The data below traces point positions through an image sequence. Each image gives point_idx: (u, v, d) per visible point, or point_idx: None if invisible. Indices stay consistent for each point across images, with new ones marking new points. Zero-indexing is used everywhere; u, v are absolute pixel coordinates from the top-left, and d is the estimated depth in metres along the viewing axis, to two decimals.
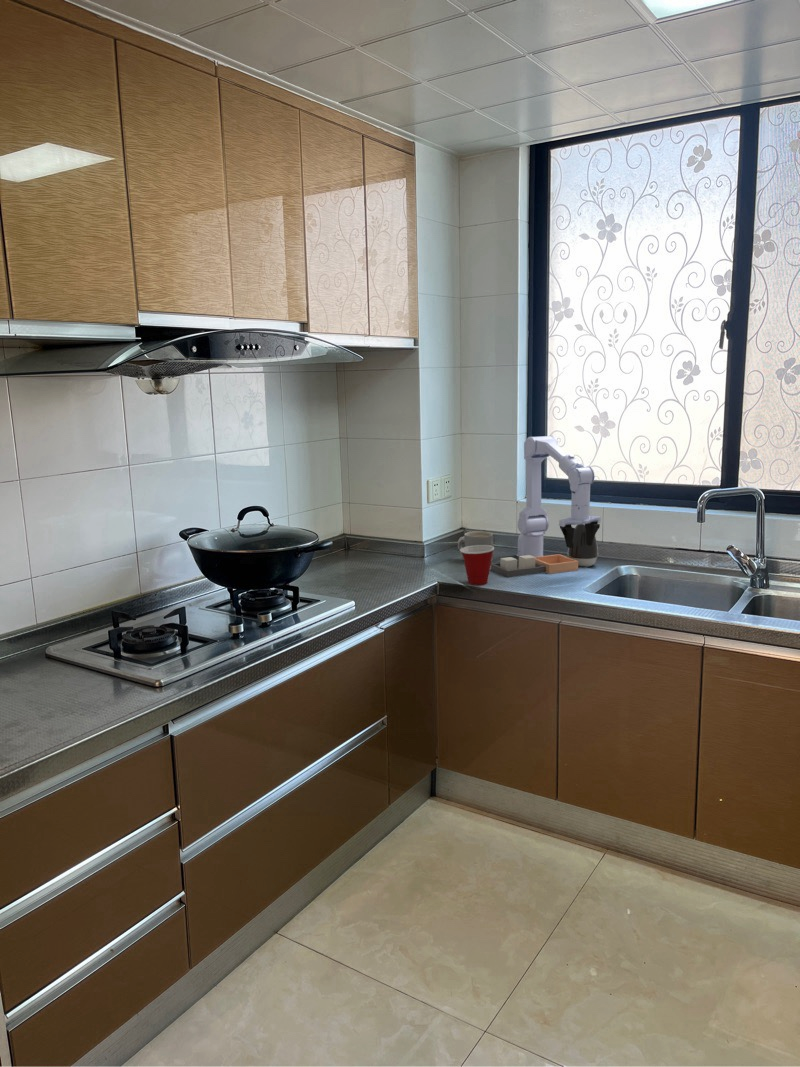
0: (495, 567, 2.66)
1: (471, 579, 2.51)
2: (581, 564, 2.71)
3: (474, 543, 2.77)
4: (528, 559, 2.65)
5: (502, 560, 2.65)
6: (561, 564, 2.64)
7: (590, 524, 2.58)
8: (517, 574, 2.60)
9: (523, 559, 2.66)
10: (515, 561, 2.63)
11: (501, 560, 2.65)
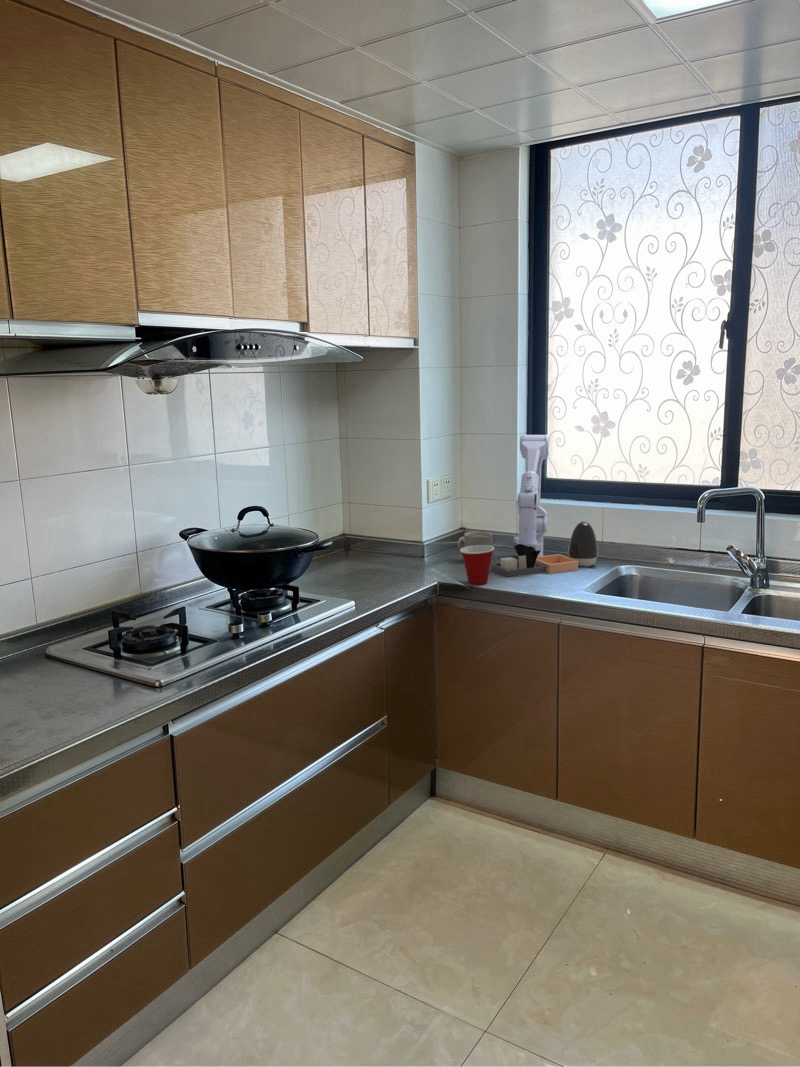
0: (495, 567, 2.66)
1: (471, 579, 2.51)
2: (581, 564, 2.71)
3: (474, 543, 2.77)
4: None
5: (502, 560, 2.65)
6: (561, 564, 2.64)
7: None
8: (517, 574, 2.60)
9: (523, 559, 2.66)
10: (515, 561, 2.63)
11: (501, 560, 2.65)
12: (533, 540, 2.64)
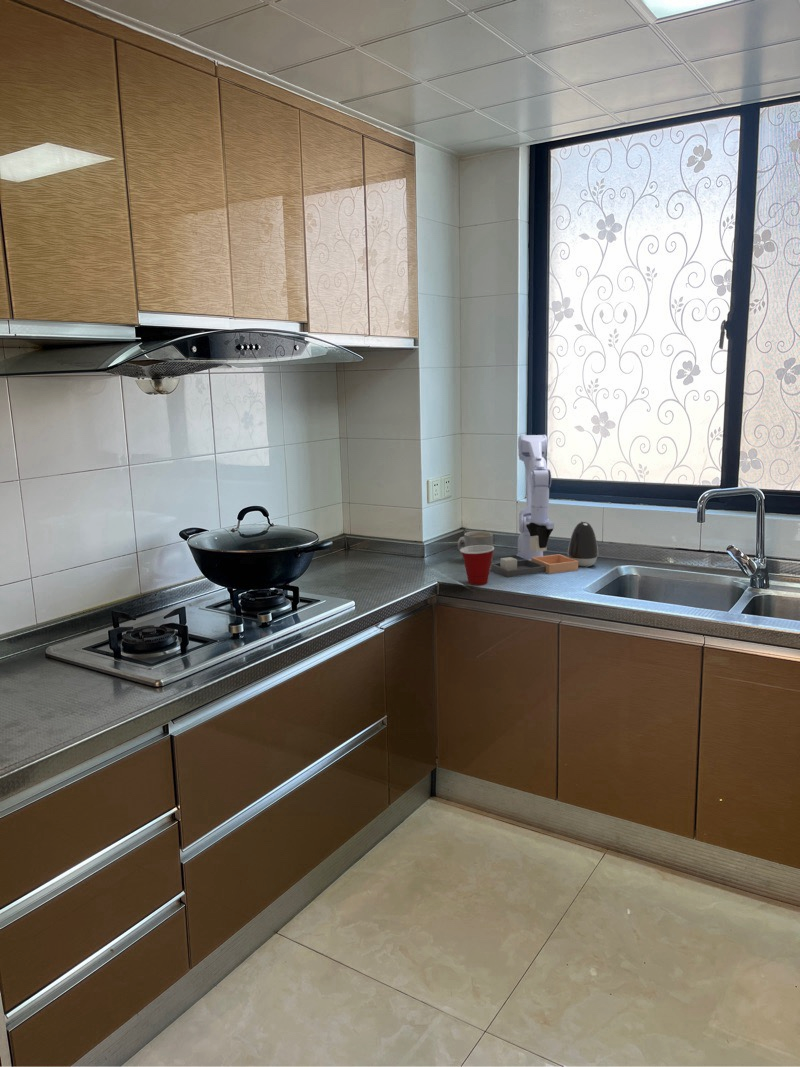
0: (495, 567, 2.66)
1: (471, 579, 2.51)
2: (581, 564, 2.71)
3: (474, 543, 2.77)
4: None
5: (502, 560, 2.65)
6: (561, 564, 2.64)
7: None
8: (517, 574, 2.60)
9: (534, 539, 2.65)
10: (515, 561, 2.63)
11: (501, 560, 2.65)
12: (545, 519, 2.63)
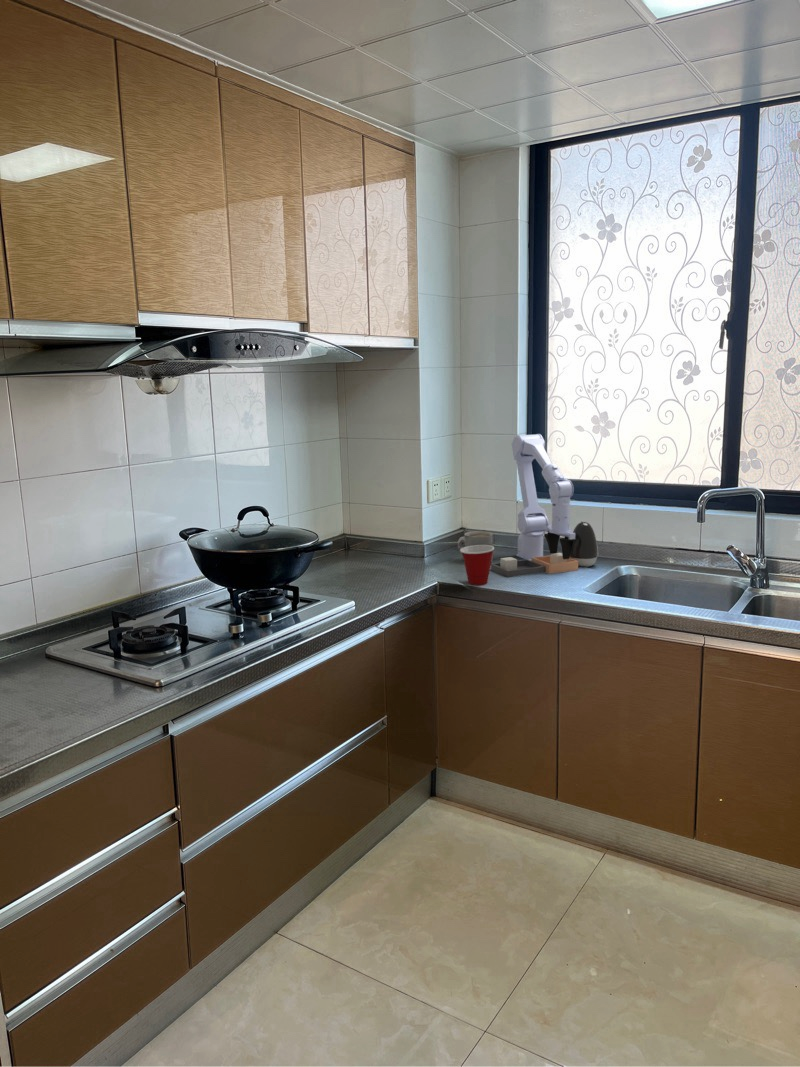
0: (495, 567, 2.66)
1: (471, 579, 2.51)
2: (581, 564, 2.71)
3: (474, 543, 2.77)
4: (560, 557, 2.67)
5: (502, 560, 2.65)
6: (561, 564, 2.64)
7: None
8: (517, 574, 2.60)
9: (555, 557, 2.68)
10: (515, 561, 2.63)
11: (501, 560, 2.65)
12: (566, 529, 2.66)
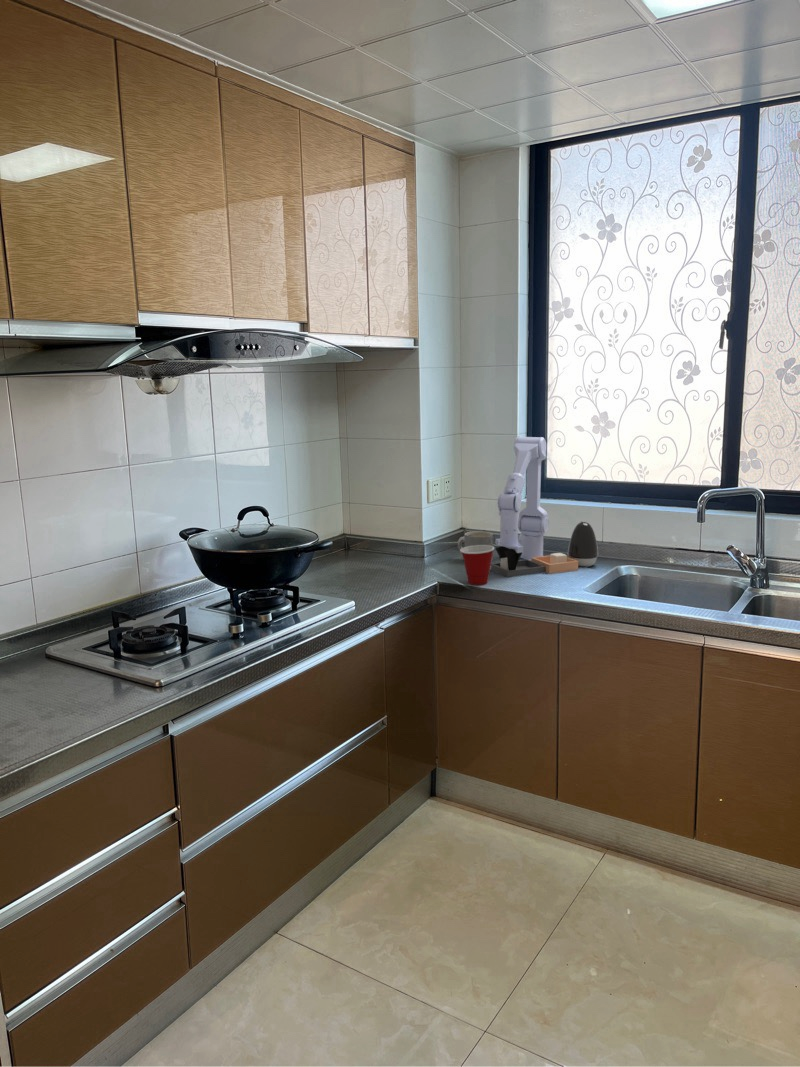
0: (495, 567, 2.66)
1: (471, 579, 2.51)
2: (581, 564, 2.71)
3: (474, 543, 2.77)
4: (560, 557, 2.67)
5: (502, 560, 2.65)
6: (561, 564, 2.64)
7: None
8: (517, 574, 2.60)
9: (555, 557, 2.68)
10: None
11: (501, 560, 2.65)
12: (514, 542, 2.61)
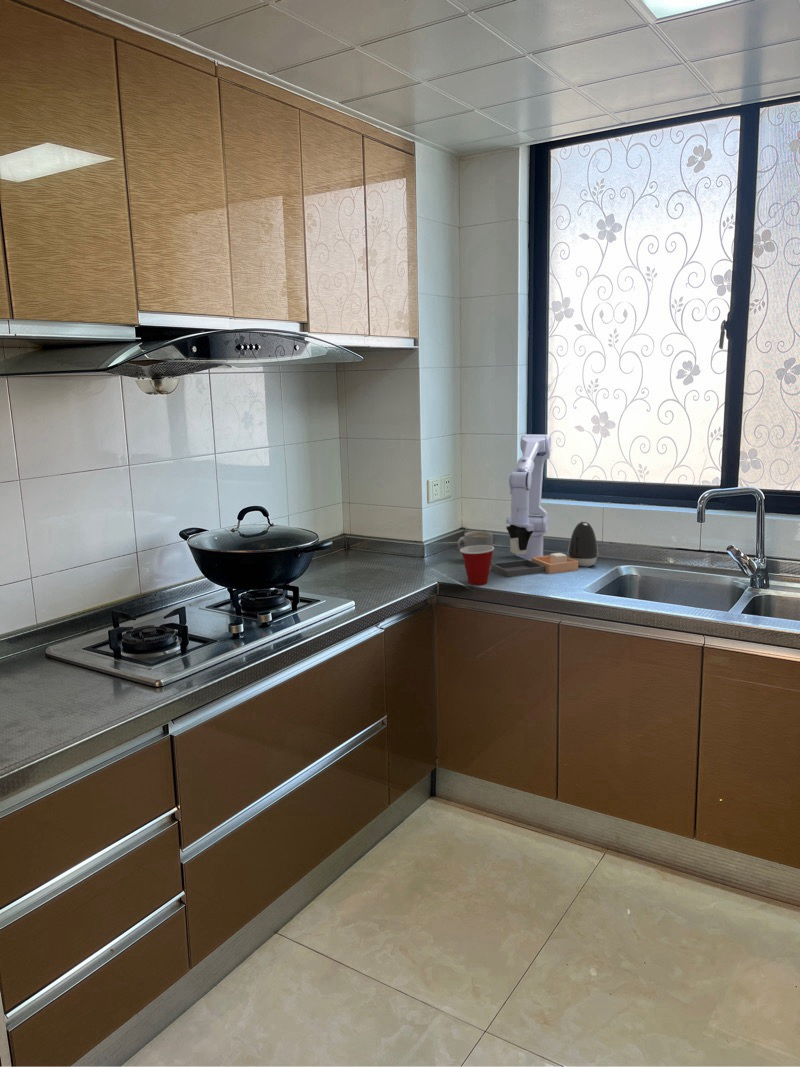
0: (495, 567, 2.66)
1: (471, 579, 2.51)
2: (581, 564, 2.71)
3: (474, 543, 2.77)
4: (560, 557, 2.67)
5: (512, 540, 2.64)
6: (561, 564, 2.64)
7: None
8: (517, 574, 2.60)
9: (555, 557, 2.68)
10: None
11: (511, 540, 2.65)
12: (525, 521, 2.61)
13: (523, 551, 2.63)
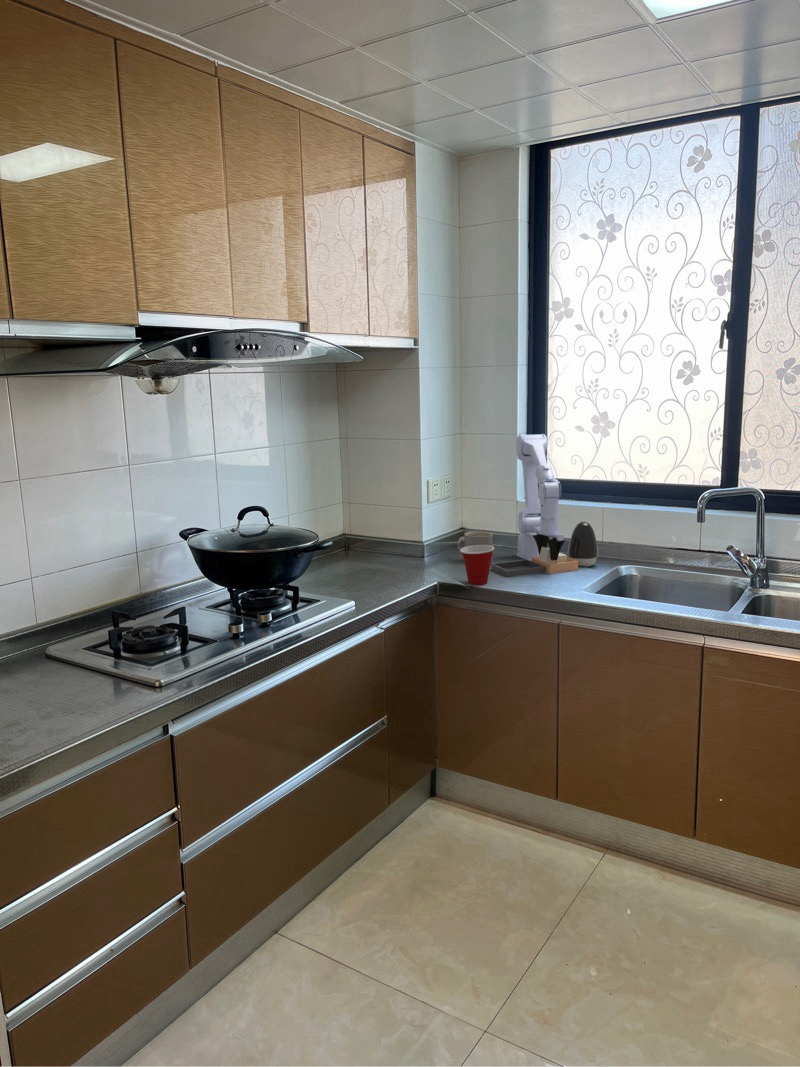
0: (495, 567, 2.66)
1: (471, 579, 2.51)
2: (581, 564, 2.71)
3: (474, 543, 2.77)
4: (560, 557, 2.67)
5: (543, 548, 2.68)
6: (561, 564, 2.64)
7: None
8: (517, 574, 2.60)
9: None
10: None
11: (542, 548, 2.68)
12: (555, 530, 2.64)
13: (552, 561, 2.67)
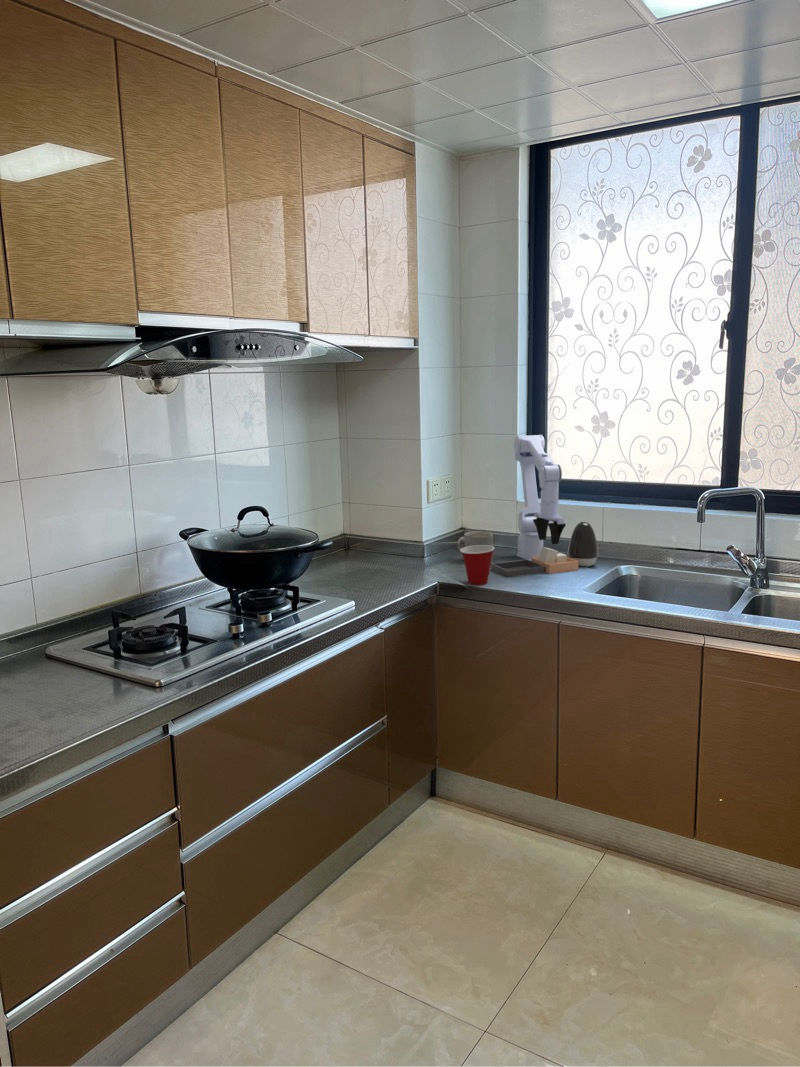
0: (495, 567, 2.66)
1: (471, 579, 2.51)
2: (581, 564, 2.71)
3: (474, 543, 2.77)
4: (560, 557, 2.67)
5: (543, 548, 2.68)
6: (561, 564, 2.64)
7: None
8: (517, 574, 2.60)
9: None
10: (556, 552, 2.67)
11: (542, 548, 2.68)
12: (555, 514, 2.63)
13: (552, 561, 2.67)
